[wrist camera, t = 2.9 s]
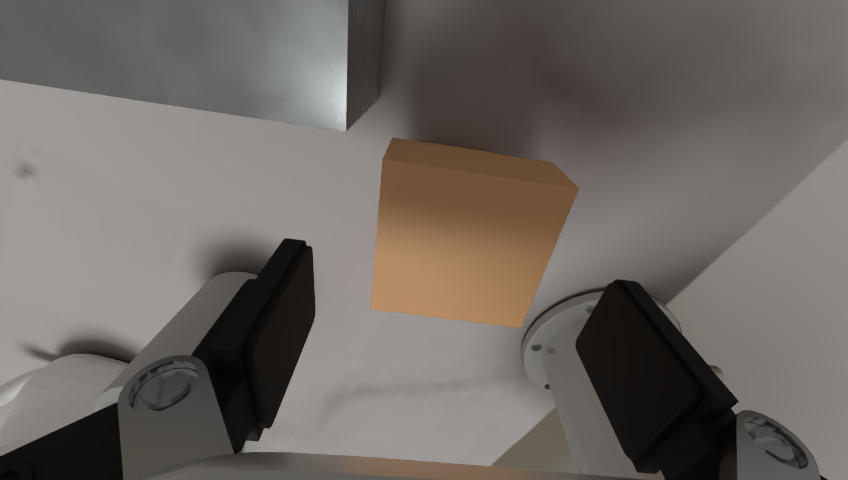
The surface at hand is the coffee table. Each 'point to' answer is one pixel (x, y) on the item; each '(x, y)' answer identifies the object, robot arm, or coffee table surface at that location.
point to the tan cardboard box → (465, 231)
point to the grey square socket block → (205, 54)
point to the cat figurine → (54, 396)
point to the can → (181, 330)
